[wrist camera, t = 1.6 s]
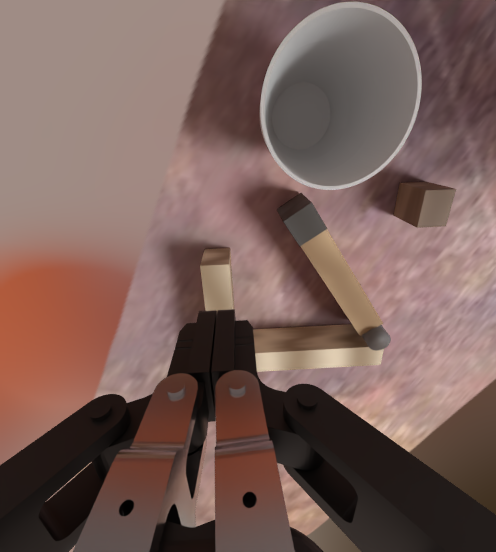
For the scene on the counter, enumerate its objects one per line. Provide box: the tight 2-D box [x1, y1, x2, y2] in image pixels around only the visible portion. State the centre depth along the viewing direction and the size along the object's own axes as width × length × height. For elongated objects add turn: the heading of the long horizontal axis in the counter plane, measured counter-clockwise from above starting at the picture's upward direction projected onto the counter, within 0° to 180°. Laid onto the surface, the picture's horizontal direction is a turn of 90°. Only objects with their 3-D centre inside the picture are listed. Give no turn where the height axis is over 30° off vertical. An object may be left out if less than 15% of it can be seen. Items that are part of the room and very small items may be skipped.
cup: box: [260, 2, 422, 190], centre depth 19 cm, size 8×8×10 cm
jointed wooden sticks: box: [200, 182, 456, 372], centre depth 28 cm, size 21×18×4 cm
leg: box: [277, 193, 391, 351], centre depth 27 cm, size 3×16×5 cm, turn 35°
